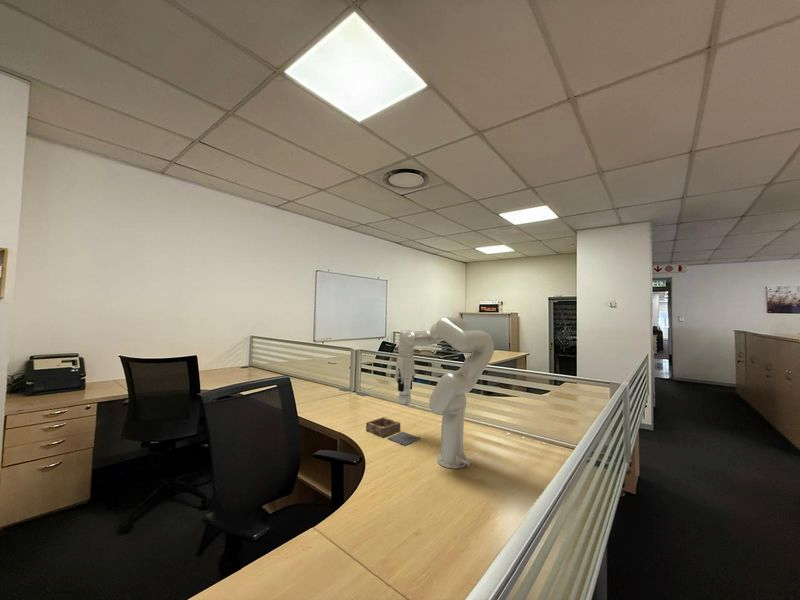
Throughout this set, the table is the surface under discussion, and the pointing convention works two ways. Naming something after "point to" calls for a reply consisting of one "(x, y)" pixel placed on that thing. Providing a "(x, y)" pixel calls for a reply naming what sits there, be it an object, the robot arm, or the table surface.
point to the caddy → (378, 424)
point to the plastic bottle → (405, 390)
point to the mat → (404, 438)
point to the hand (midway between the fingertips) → (405, 389)
